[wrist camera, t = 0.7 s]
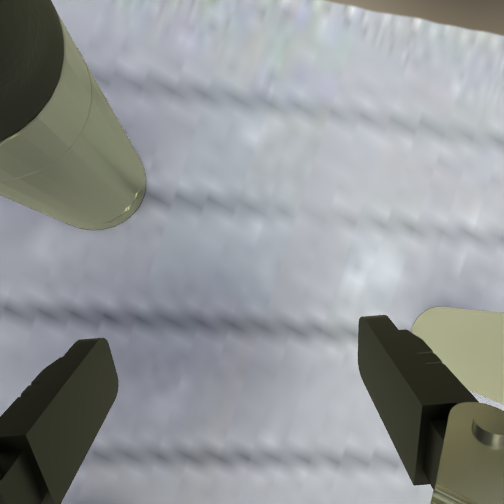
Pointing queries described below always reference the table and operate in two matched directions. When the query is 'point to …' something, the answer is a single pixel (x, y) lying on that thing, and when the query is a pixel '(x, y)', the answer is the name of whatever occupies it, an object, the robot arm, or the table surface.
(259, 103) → the table surface
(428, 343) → the cylindrical container
